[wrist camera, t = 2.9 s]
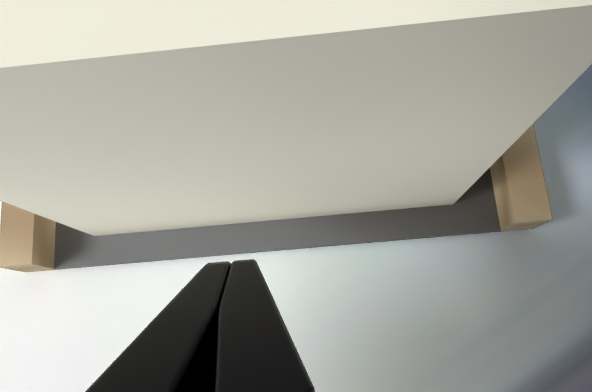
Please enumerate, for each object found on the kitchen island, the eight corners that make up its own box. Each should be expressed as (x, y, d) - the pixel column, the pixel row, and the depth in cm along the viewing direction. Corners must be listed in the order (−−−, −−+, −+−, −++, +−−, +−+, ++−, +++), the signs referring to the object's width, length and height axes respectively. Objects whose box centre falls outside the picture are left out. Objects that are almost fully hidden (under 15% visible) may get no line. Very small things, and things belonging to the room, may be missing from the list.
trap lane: (532, 228, 15) (552, 218, 14) (25, 272, 16) (-3, 267, 15) (459, -149, 19) (469, -186, 17) (46, -99, 19) (25, -131, 18)
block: (453, 204, 15) (657, -3, 6) (94, 235, 16) (-277, 97, 6) (431, 68, 17) (572, -297, 7) (97, 102, 17) (-212, -192, 7)
